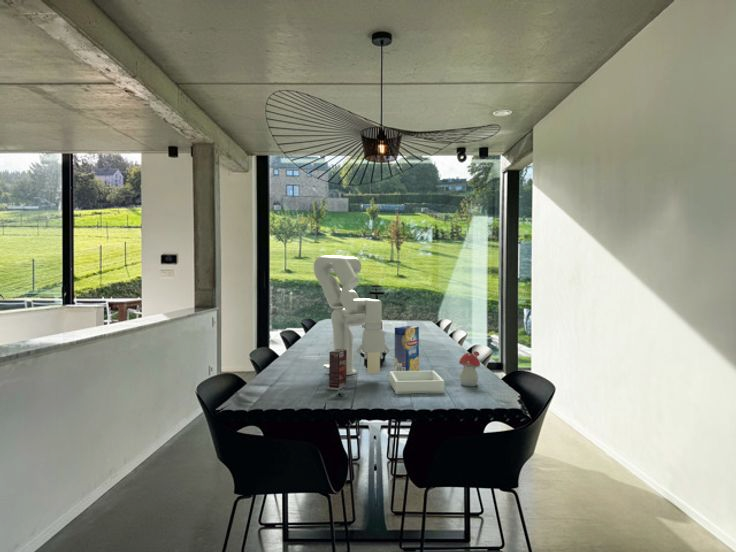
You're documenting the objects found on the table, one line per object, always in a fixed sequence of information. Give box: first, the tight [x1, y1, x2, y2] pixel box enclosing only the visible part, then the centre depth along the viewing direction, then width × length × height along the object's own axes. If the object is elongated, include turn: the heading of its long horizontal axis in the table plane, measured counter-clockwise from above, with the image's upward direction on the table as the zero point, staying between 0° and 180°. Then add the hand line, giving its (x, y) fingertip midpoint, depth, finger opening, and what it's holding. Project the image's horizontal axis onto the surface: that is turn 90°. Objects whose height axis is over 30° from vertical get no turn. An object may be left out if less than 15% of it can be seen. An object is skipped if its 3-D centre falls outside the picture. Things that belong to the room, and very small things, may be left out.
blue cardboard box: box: [394, 325, 420, 371], centre depth 264 cm, size 7×11×22 cm, turn 142°
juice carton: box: [366, 352, 381, 375], centre depth 243 cm, size 6×6×10 cm
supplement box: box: [328, 349, 347, 391], centre depth 230 cm, size 9×5×16 cm, turn 160°
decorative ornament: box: [458, 350, 481, 387], centre depth 234 cm, size 9×7×15 cm
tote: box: [389, 370, 445, 395], centre depth 230 cm, size 20×22×5 cm
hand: (373, 366), depth 243 cm, fingers closed on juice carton, 5 cm apart
